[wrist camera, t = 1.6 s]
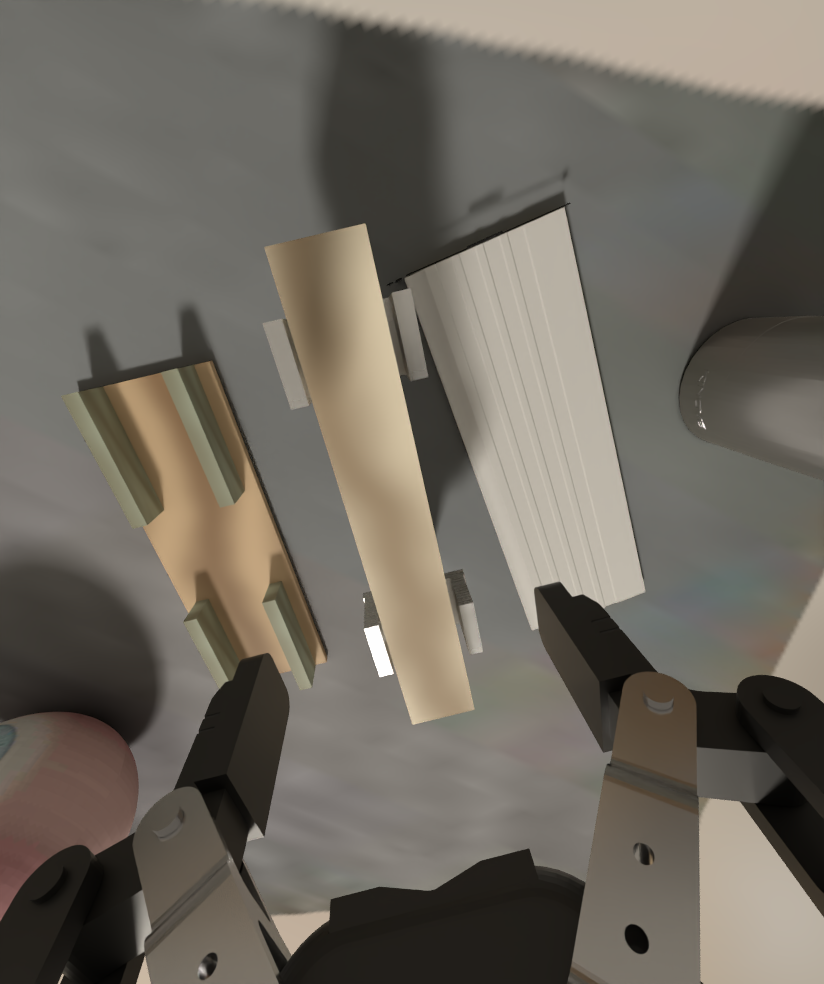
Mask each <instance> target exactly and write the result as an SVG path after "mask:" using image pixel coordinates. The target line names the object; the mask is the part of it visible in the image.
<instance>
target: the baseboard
mask: <svg viewBox="0 0 824 984" xmlns="http://www.w3.org/2000/svg"><path fill="white" fill-rule="evenodd" d="M568 204H570V203H567V204H566V205H568ZM566 205H564V206H566ZM564 206H561V207H564ZM561 207H559V208H561ZM559 208H557V209H559ZM557 209H555V210H557ZM555 210H552V211H555ZM552 211H550V212H552ZM550 212H548V213H550ZM548 213H546V214H548ZM546 214H543V215H545V216H543V215H541V216H543V217H541V216H539V217H541V218H539V217H537V218H539V219H536V218H534V219H536V220H534V219H532V220H534V221H532V220H530V221H532V222H530V221H527V222H530V223H527V222H525V223H527V224H525V223H523V224H525V225H523V224H521V225H523V226H521V225H518V226H521V227H519V228H516V227H518V226H516V227H514V228H516V229H514V228H512V229H514V230H512V229H509V230H512V231H509V230H507V231H509V232H507V231H505V232H507V233H505V232H502V231H501V232H499V233H496V234H494V235H492V236H490V237H487V238H486V239H483V240H481V241H479V242H477V243H474V244H472V245H470V246H468V247H467V248H466V249H469V248H471V247H473V246H475V245H477V246H475V247H473V248H471V249H469V250H466V249H464V250H466V251H464V250H462V251H464V252H462V251H460V252H462V253H460V254H457V253H459V252H457V253H455V254H457V255H455V254H453V255H455V256H453V255H450V256H453V257H450V256H448V257H450V258H448V257H446V258H448V259H446V258H444V259H446V260H444V259H441V260H444V261H441V260H439V261H441V262H439V261H437V262H439V263H437V262H435V263H437V264H435V263H432V264H434V265H432V264H430V265H432V266H430V265H428V266H430V267H428V266H426V267H428V268H425V267H423V268H425V269H423V268H421V269H423V270H421V269H419V270H421V271H419V270H417V271H419V272H417V273H415V274H413V275H411V276H409V277H407V278H405V279H404V280H405V283H406V285H407V288H408V289H409V288H411V292H412V297H413V302H414V307H415V310H416V313H417V316H418V318H419V321H420V324H421V327H422V329H423V332H424V335H425V338H426V340H427V343H428V346H429V349H430V351H431V354H432V357H433V360H434V362H435V365H436V368H437V371H438V373H439V376H440V379H441V382H442V384H443V387H444V390H445V393H446V395H447V398H448V401H449V404H450V407H451V409H452V412H453V415H454V418H455V420H456V423H457V426H458V429H459V431H460V434H461V437H462V440H463V442H464V445H465V448H466V451H467V453H468V456H469V459H470V462H471V464H472V467H473V470H474V473H475V475H476V478H477V481H478V484H479V486H480V489H481V492H482V495H483V497H484V500H485V503H486V506H487V508H488V511H489V514H490V517H491V519H492V522H493V525H494V528H495V530H496V533H497V536H498V539H499V541H500V544H501V547H502V550H503V553H504V555H505V558H506V561H507V564H508V566H509V569H510V572H511V575H512V577H513V580H514V583H515V586H516V588H517V591H518V594H519V597H520V599H521V602H522V605H523V608H524V610H525V613H526V616H527V619H528V621H529V624H530V627H531V629H532V630H534V629H538V620H537V612H536V604H535V596H534V588H535V587H539V586H543V585H547V584H551V583H555V582H561V583H562V584H563V586H564V587H565V588H566V589H567V591H568V592H569V593H570V595H571V596H572V597H574V596H578V595H582V594H583V595H585V596H587V597H589V598H590V599H592V600H594V601H596V602H597V603H599V604H600V605H601V606H602V607H603V608H605V607H606V606H608V605H610V604H613V603H616V602H617V603H618V602H620V601H623V600H625V599H628V598H631V597H633V596H636V595H638V594H641V593H644V592H645V587H644V583H643V578H642V573H641V568H640V564H639V559H638V554H637V549H636V545H635V540H634V535H633V530H632V526H631V521H630V516H629V511H628V507H627V502H626V497H625V492H624V488H623V483H622V478H621V473H620V469H619V464H618V459H617V454H616V450H615V445H614V440H613V435H612V431H611V426H610V421H609V416H608V412H607V407H606V402H605V397H604V393H603V388H602V383H601V378H600V374H599V369H598V364H597V359H596V355H595V350H594V345H593V340H592V336H591V331H590V326H589V321H588V316H587V312H586V307H585V302H584V297H583V293H582V288H581V283H580V278H579V274H578V269H577V264H576V259H575V255H574V250H573V245H572V240H571V236H570V231H569V226H568V221H567V217H566V212H565V207H564V208H561V209H559V210H557V211H555V212H552V213H550V214H548V215H546ZM502 233H505V234H502ZM500 234H502V235H500ZM498 235H500V236H498ZM496 236H498V237H496ZM493 237H496V238H494V239H491V238H493ZM489 239H491V240H489ZM487 240H489V241H487ZM484 241H487V242H485V243H482V242H484ZM480 243H482V244H480ZM478 244H480V245H478ZM414 272H416V271H414ZM414 272H411V273H409V274H407V275H410V274H412V273H414ZM407 275H406V276H407ZM400 280H402V278H400V279H398V280H396V282H398V281H400ZM392 283H393V282H392ZM392 283H389V284H388V285H390V284H392Z"/></svg>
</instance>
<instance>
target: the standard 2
mask: <svg viewBox="0 0 824 984" xmlns="http://www.w3.org/2000/svg"><path fill="white" fill-rule="evenodd" d="M444 576H445V580H446V585H447V589H448V594H449V598H450V603H451V607H452V611H453V616H454V620H455V625H456V624H460V625H461V628H462V631H463V635H464V638H465V641H466V644H467V648H468V651H469V654H470V655H472V654H476V653H480V652H483V649H482V644H481V639H480V634H479V629H478V624H477V619H476V614H475V609H474V604H473V601H472V598H471V595H470V593H469V590H468V587H467V585H466V580H465V575H464V572H463V570H462V569H461V570H456V571H452V572H448V573H444ZM363 600H364V603H365V610H364V630H365V633H366V636H367V639H368V642H369V645H370V648H371V651H372V654H373V657H374V660H375V663H376V666H377V669H378V672H379V675H380V677H381V676H385V675H390V674H393V661H392V657H391V654H390V650H389V647H388V644H387V641H386V637H385V634H384V631H383V628H382V625H381V621H380V618H379V615H378V612H377V608H376V605H375V602H374V599H373V596H372V592H371V591H370V592H366V593H363Z"/></svg>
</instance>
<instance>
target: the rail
mask: <svg viewBox="0 0 824 984" xmlns="http://www.w3.org/2000/svg"><path fill="white" fill-rule="evenodd" d="M264 248H265V251H266V254H267V257H268V261H269V264H270V267H271V270H272V274H273V277H274V280H275V283H276V286H277V290H278V293H279V296H280V299H281V302H282V306H283V309H284V312H285V315H286V319H287V322H288V325H289V328H290V331H291V335H292V338H293V341H294V344H295V348H296V351H297V354H298V357H299V360H300V364H301V367H302V370H303V373H304V377H305V380H306V383H307V386H308V389H309V393H310V396H311V399H312V402H313V406H314V409H315V412H316V415H317V418H318V422H319V425H320V428H321V431H322V435H323V438H324V441H325V444H326V447H327V451H328V454H329V457H330V460H331V464H332V467H333V470H334V473H335V476H336V480H337V483H338V486H339V489H340V493H341V496H342V499H343V502H344V505H345V509H346V512H347V515H348V518H349V522H350V525H351V528H352V531H353V534H354V538H355V541H356V544H357V547H358V551H359V554H360V557H361V560H362V563H363V567H364V570H365V573H366V576H367V579H368V583H369V586H370V589H371V592H372V596H373V599H374V602H375V605H376V608H377V612H378V615H379V618H380V621H381V625H382V628H383V631H384V634H385V637H386V641H387V644H388V647H389V650H390V654H391V657H392V660H393V663H394V666H395V670H396V673H397V676H398V679H399V683H400V686H401V689H402V692H403V695H404V699H405V702H406V705H407V708H408V712H409V715H410V718H411V721H412V724H413V725H414V724H418V723H422V722H426V721H430V720H434V719H438V718H442V717H446V716H450V715H455V714H459V713H463V712H467V711H471V710H474V705H473V701H472V696H471V692H470V687H469V683H468V678H467V674H466V669H465V665H464V660H463V656H462V652H461V647H460V643H459V638H458V634H457V629H456V625H455V620H454V616H453V611H452V607H451V603H450V598H449V594H448V589H447V585H446V580H445V576H444V571H443V567H442V562H441V558H440V554H439V549H438V545H437V540H436V536H435V531H434V527H433V522H432V518H431V513H430V509H429V504H428V500H427V496H426V491H425V487H424V482H423V478H422V473H421V469H420V464H419V460H418V455H417V451H416V447H415V442H414V438H413V433H412V429H411V424H410V420H409V415H408V411H407V406H406V402H405V398H404V393H403V389H402V384H401V380H400V375H399V371H398V366H397V362H396V357H395V353H394V348H393V344H392V340H391V335H390V331H389V326H388V322H387V317H386V313H385V308H384V304H383V299H382V295H381V291H380V286H379V282H378V277H377V273H376V268H375V264H374V259H373V255H372V250H371V246H370V242H369V237H368V233H367V228H366V224H365V223H364V224H360V225H356V226H352V227H347V228H343V229H339V230H335V231H331V232H326V233H322V234H318V235H314V236H309V237H305V238H301V239H297V240H293V241H288V242H284V243H280V244H276V245H271V246H267V247H264Z"/></svg>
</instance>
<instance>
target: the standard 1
mask: <svg viewBox="0 0 824 984" xmlns="http://www.w3.org/2000/svg"><path fill="white" fill-rule="evenodd" d="M383 304H384V308H385V313H386V317H387V322H388V326H389V331H390V335H391V340H392V344H393V348H394V353H395V357H396V362H397V366H398V371H399V375H400V376H402V375H406V376H407V377H408V378H409V380H410V381H414V380H418V379H422V378H426V377H428V372H427V367H426V362H425V357H424V352H423V347H422V342H421V337H420V332H419V327H418V322H417V317H416V312H415V307H414V302H413V297H412V292H411V288H409V289H405V290H401V291H397V292H393V293H391V295H390V296H389V298H384V299H383ZM263 326H264V329H265V332H266V335H267V338H268V341H269V344H270V347H271V350H272V353H273V356H274V359H275V362H276V365H277V368H278V371H279V374H280V377H281V381H282V384H283V387H284V390H285V393H286V396H287V399H288V402H289V405H290V408H291V410H293V409H297V408H301V407H305V406H309V405H310V404H311V402H312V399H311V396H310V393H309V389H308V386H307V383H306V380H305V377H304V373H303V370H302V367H301V364H300V360H299V357H298V354H297V351H296V348H295V344H294V341H293V338H292V335H291V331H290V328H289V325H288V322H287V319H279V320H275V321H271V322H266V323H263Z"/></svg>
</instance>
